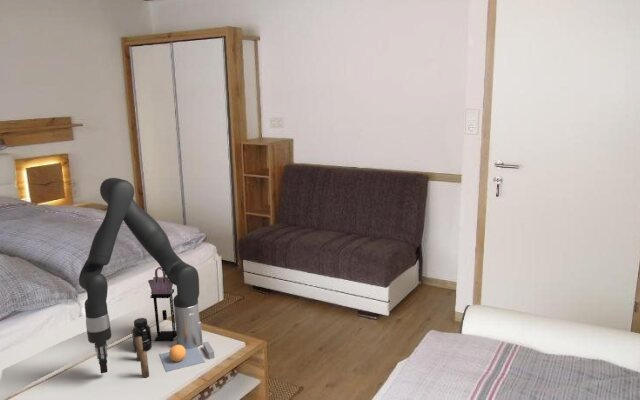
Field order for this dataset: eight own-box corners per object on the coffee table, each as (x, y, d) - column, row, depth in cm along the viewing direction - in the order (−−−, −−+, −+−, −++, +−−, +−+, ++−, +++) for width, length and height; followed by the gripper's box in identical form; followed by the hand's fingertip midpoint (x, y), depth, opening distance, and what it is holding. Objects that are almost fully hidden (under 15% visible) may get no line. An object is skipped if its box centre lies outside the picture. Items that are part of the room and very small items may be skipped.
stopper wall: (208, 347, 204) (208, 341, 204) (214, 357, 196) (214, 351, 196) (203, 348, 203) (203, 342, 203) (209, 359, 195) (208, 352, 195)
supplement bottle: (146, 353, 201) (143, 324, 198) (130, 352, 202) (127, 323, 200) (155, 345, 207) (152, 317, 205) (139, 344, 209) (136, 316, 206)
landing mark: (196, 346, 206) (196, 345, 206) (204, 362, 193) (204, 361, 193) (159, 354, 200) (159, 354, 200) (166, 371, 187) (166, 371, 187)
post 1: (143, 357, 198) (141, 335, 196) (144, 360, 196) (142, 338, 194) (136, 359, 197) (134, 337, 195) (137, 362, 195) (135, 339, 193)
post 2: (148, 373, 186) (146, 350, 185) (149, 376, 184) (147, 353, 182) (141, 375, 185) (139, 352, 184) (142, 378, 183) (140, 355, 181)
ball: (166, 346, 195) (171, 359, 197) (168, 353, 190) (173, 367, 192) (181, 339, 197) (186, 352, 199) (184, 346, 192) (189, 360, 194)
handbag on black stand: (182, 332, 217) (175, 264, 211) (176, 341, 210) (169, 270, 204) (157, 332, 218) (150, 264, 212) (150, 341, 211) (143, 270, 205)
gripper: (111, 331, 177) (117, 378, 180) (108, 317, 188) (113, 360, 192) (87, 336, 174) (93, 383, 177) (85, 321, 185) (91, 366, 189)
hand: (104, 371), depth 185 cm, fingers closed
